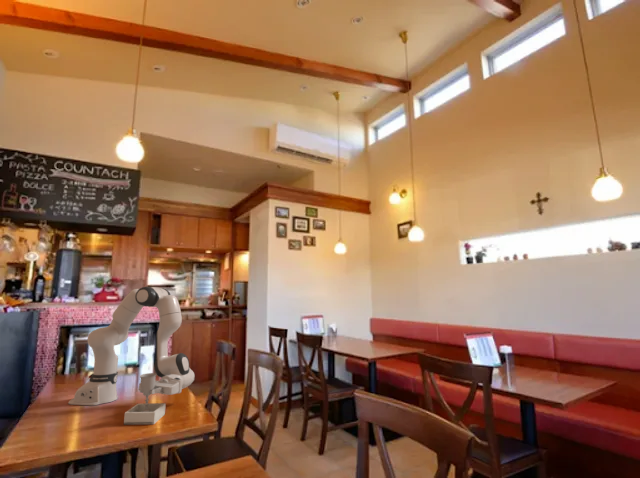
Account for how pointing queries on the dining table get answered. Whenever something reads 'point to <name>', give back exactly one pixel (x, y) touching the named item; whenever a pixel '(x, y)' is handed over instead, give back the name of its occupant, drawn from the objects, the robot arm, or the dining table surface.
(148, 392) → the chalice
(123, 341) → the robot arm
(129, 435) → the dining table surface
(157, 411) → the walled box
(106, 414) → the dining table surface
